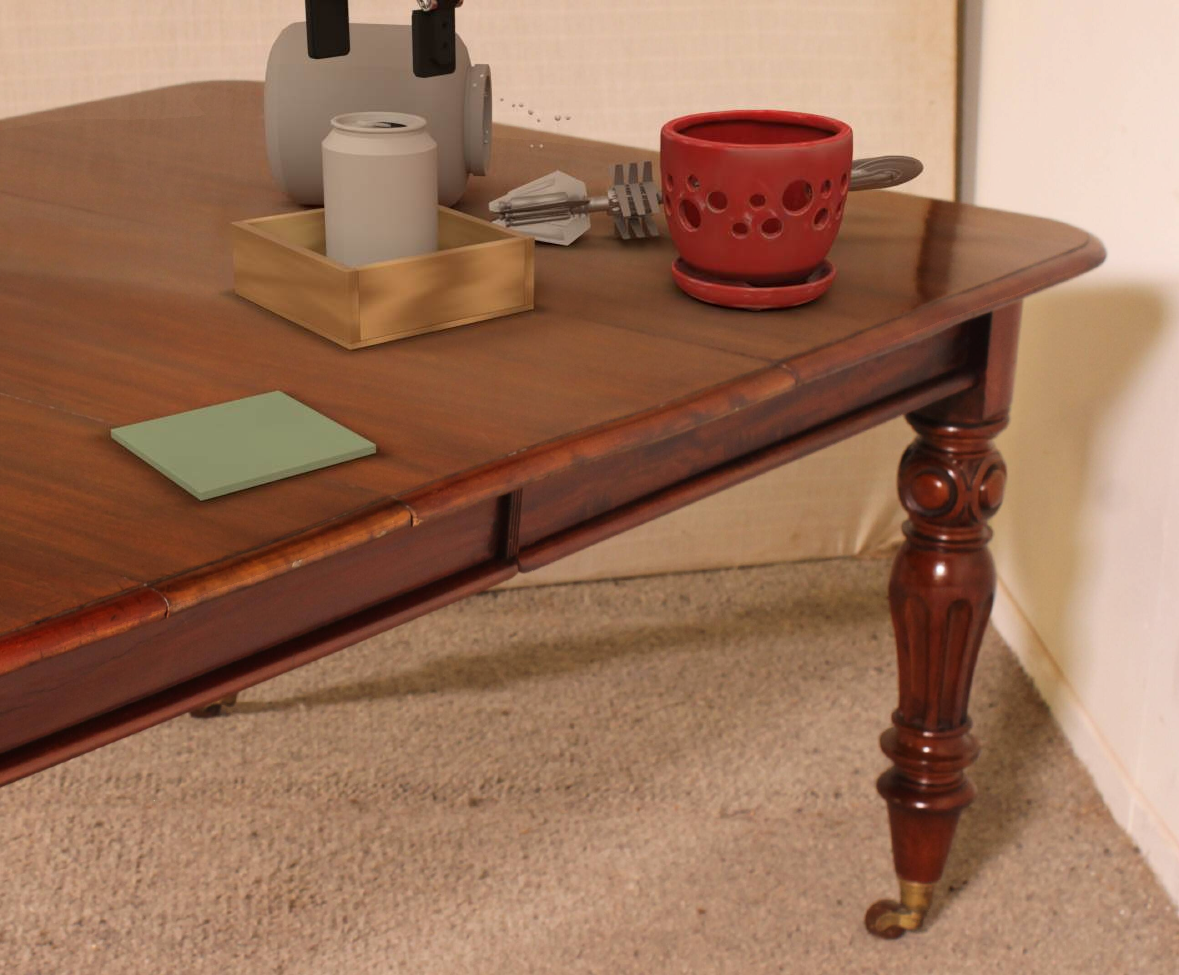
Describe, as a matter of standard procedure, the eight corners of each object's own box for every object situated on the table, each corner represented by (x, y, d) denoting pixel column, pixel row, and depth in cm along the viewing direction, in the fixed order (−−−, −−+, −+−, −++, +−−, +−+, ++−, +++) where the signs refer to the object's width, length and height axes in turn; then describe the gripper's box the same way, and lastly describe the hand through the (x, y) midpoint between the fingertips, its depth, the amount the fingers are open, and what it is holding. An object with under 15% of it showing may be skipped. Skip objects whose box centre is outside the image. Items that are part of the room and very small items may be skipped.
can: (461, 293, 103) (460, 116, 98) (389, 319, 97) (385, 132, 92) (377, 274, 106) (373, 102, 101) (304, 297, 101) (295, 117, 96)
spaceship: (947, 153, 114) (913, 97, 119) (494, 204, 110) (480, 144, 115) (930, 236, 120) (899, 179, 125) (499, 288, 116) (486, 227, 121)
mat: (201, 501, 72) (200, 492, 71) (111, 438, 78) (110, 429, 78) (376, 453, 78) (376, 444, 77) (278, 398, 84) (278, 389, 84)
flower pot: (740, 258, 115) (752, 99, 110) (876, 299, 106) (895, 128, 101) (615, 287, 107) (621, 117, 102) (750, 333, 98) (764, 149, 93)
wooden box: (350, 350, 92) (347, 271, 90) (235, 293, 102) (230, 222, 100) (534, 309, 101) (535, 237, 99) (411, 261, 111) (410, 194, 109)
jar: (329, 114, 137) (594, 92, 132) (313, 259, 133) (587, 242, 128) (241, -12, 120) (542, -44, 115) (219, 150, 115) (532, 125, 110)
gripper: (226, -234, 91) (247, 56, 98) (429, -232, 81) (435, 90, 88) (320, -230, 96) (333, 44, 103) (521, -228, 86) (520, 75, 93)
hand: (380, 65), depth 96 cm, fingers open, 9 cm apart
